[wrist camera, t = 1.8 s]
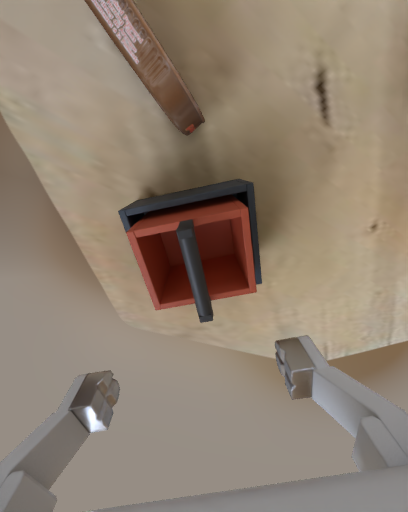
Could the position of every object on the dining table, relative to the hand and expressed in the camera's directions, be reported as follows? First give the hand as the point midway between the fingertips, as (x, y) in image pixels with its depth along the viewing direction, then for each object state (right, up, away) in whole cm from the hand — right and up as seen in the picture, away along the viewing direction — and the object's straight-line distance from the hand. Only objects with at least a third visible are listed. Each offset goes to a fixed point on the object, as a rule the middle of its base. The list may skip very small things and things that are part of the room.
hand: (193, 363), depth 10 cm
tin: (-5, +25, +11) cm, 28 cm away
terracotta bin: (-1, +8, +18) cm, 20 cm away
